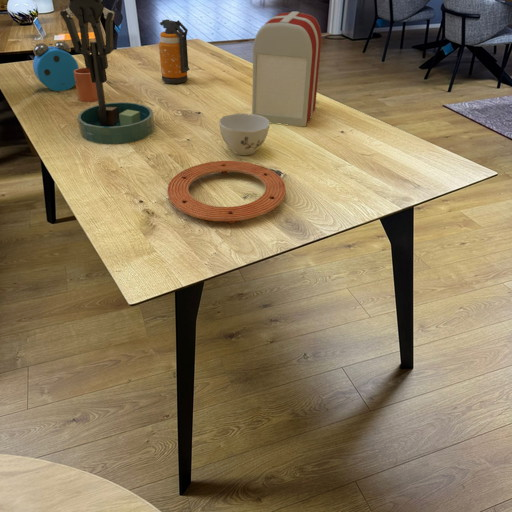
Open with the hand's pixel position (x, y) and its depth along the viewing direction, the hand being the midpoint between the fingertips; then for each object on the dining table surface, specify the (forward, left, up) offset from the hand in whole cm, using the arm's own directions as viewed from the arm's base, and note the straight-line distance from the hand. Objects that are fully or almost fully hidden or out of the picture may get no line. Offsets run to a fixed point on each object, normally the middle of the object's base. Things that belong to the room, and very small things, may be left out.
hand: (99, 81), depth 127 cm
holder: (-12, +23, -13) cm, 28 cm away
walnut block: (0, +1, -12) cm, 12 cm away
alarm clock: (-25, +32, -13) cm, 42 cm away
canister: (+12, +45, -13) cm, 48 cm away
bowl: (+4, -3, -13) cm, 14 cm away
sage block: (+7, -1, -12) cm, 14 cm away
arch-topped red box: (+50, +15, -13) cm, 54 cm away
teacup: (+39, -12, -13) cm, 43 cm away
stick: (0, -2, -10) cm, 10 cm away
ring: (+37, -37, -13) cm, 54 cm away
